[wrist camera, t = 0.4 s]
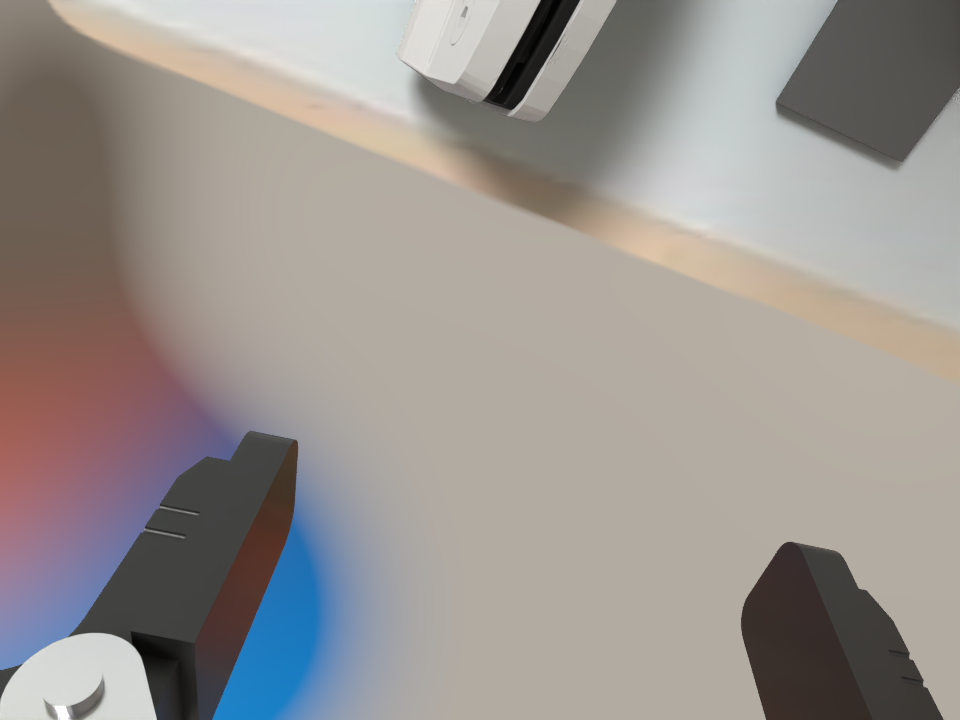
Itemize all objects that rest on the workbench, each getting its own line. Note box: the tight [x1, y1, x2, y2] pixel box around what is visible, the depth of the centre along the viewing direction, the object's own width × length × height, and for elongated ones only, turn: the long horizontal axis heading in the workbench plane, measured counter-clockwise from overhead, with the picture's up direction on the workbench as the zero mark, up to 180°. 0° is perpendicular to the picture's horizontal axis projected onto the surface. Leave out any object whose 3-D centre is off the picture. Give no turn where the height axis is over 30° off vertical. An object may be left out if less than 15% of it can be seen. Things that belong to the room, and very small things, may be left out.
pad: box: [776, 0, 960, 162], centre depth 31 cm, size 7×7×1 cm
